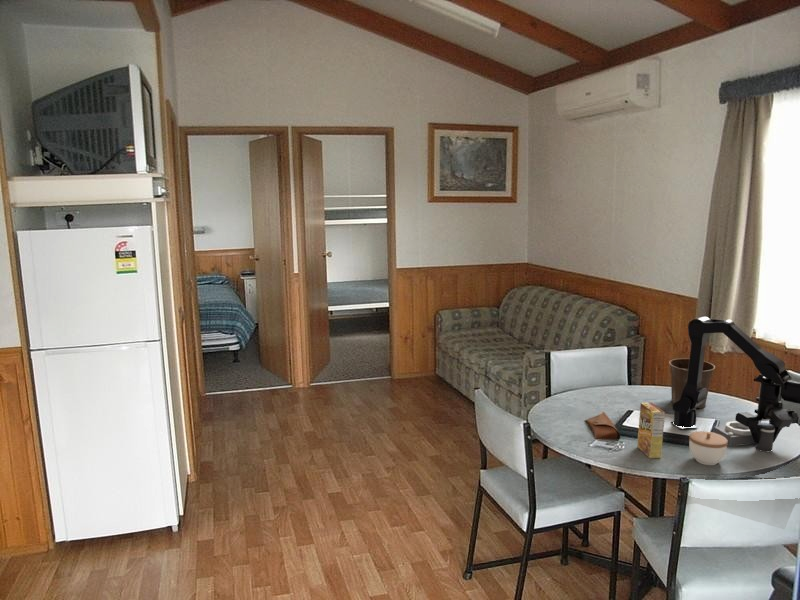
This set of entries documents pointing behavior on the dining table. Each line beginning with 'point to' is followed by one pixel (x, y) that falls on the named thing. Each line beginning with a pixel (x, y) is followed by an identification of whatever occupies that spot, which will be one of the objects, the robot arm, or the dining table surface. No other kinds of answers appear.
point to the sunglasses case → (603, 427)
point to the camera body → (735, 433)
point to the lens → (766, 437)
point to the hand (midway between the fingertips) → (764, 442)
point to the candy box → (651, 430)
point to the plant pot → (680, 377)
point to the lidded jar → (707, 447)
